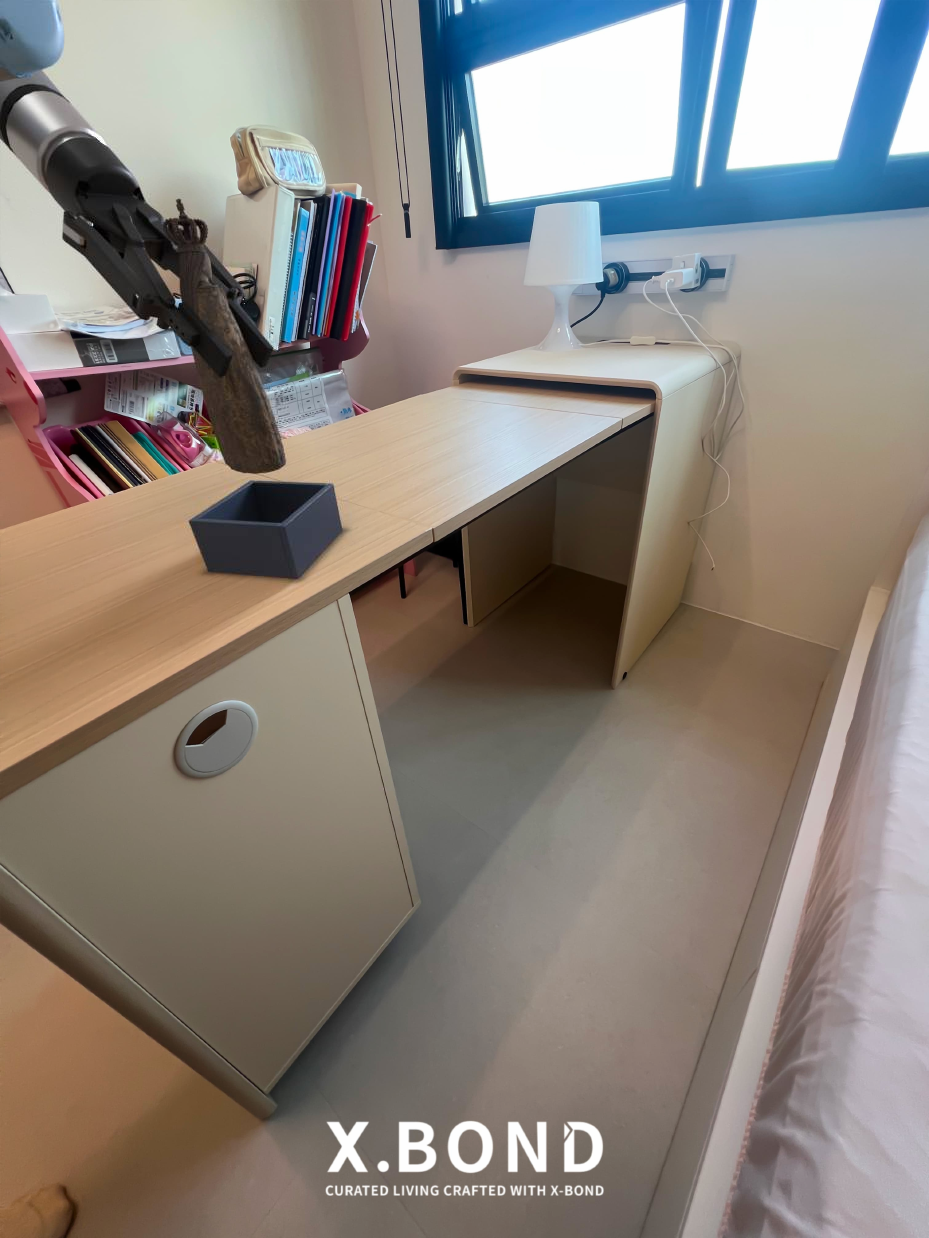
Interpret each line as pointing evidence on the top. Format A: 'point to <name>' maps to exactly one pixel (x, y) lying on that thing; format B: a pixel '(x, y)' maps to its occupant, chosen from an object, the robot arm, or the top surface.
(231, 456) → the statue
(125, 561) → the top surface
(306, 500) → the bin
